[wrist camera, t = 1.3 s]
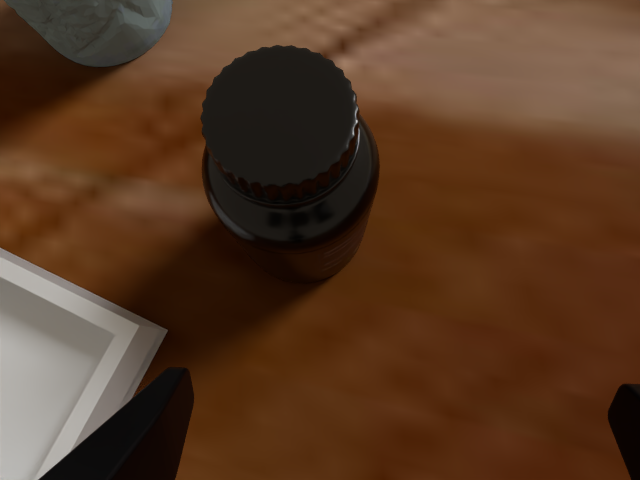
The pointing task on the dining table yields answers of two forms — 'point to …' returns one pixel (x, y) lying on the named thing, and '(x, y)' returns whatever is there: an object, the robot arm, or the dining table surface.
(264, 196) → the supplement bottle
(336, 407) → the dining table surface
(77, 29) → the grey-green cup
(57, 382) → the tray
